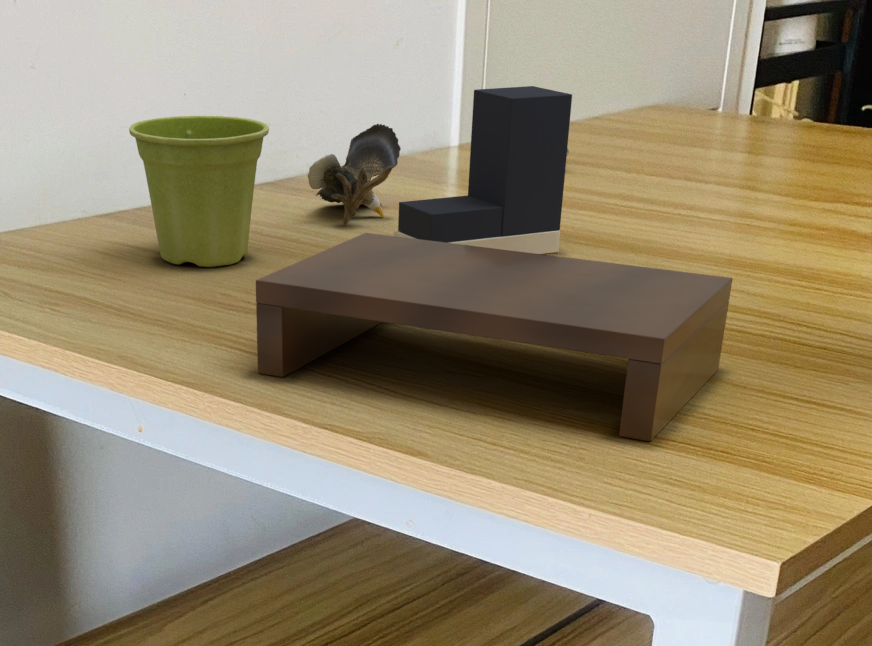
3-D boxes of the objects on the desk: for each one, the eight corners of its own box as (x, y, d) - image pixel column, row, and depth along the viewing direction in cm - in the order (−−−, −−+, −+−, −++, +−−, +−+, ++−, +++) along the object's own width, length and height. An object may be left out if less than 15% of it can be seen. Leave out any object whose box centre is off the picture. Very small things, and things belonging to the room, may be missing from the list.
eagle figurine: (419, 212, 105) (421, 168, 112) (369, 131, 101) (374, 90, 108) (336, 263, 108) (343, 217, 115) (285, 186, 104) (295, 143, 111)
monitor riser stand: (718, 369, 76) (732, 277, 73) (650, 442, 66) (664, 338, 63) (363, 316, 85) (365, 232, 82) (257, 373, 75) (255, 280, 72)
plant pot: (295, 263, 96) (294, 130, 91) (173, 280, 92) (166, 141, 87) (232, 237, 103) (228, 112, 98) (116, 252, 98) (106, 121, 94)
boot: (520, 238, 103) (532, 85, 98) (558, 252, 99) (573, 94, 94) (393, 252, 99) (398, 94, 93) (428, 267, 95) (436, 103, 90)
